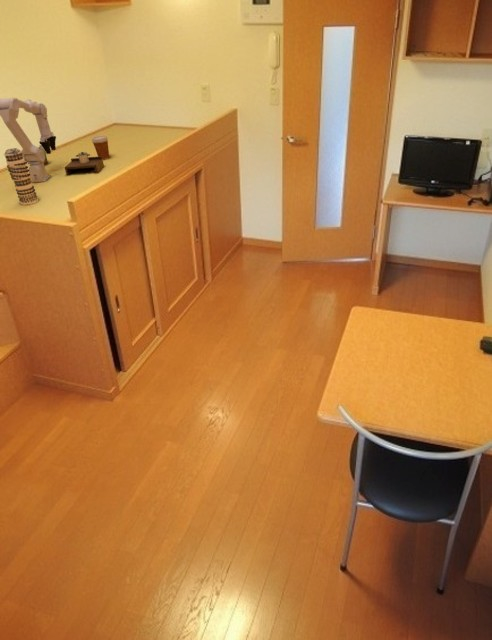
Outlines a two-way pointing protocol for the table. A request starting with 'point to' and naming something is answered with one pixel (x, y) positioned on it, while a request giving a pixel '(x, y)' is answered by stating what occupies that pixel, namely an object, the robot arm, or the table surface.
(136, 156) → the table surface
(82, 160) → the pot
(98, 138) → the disposable coffee cup
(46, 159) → the food container
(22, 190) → the leaning tower model
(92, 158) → the shelf
